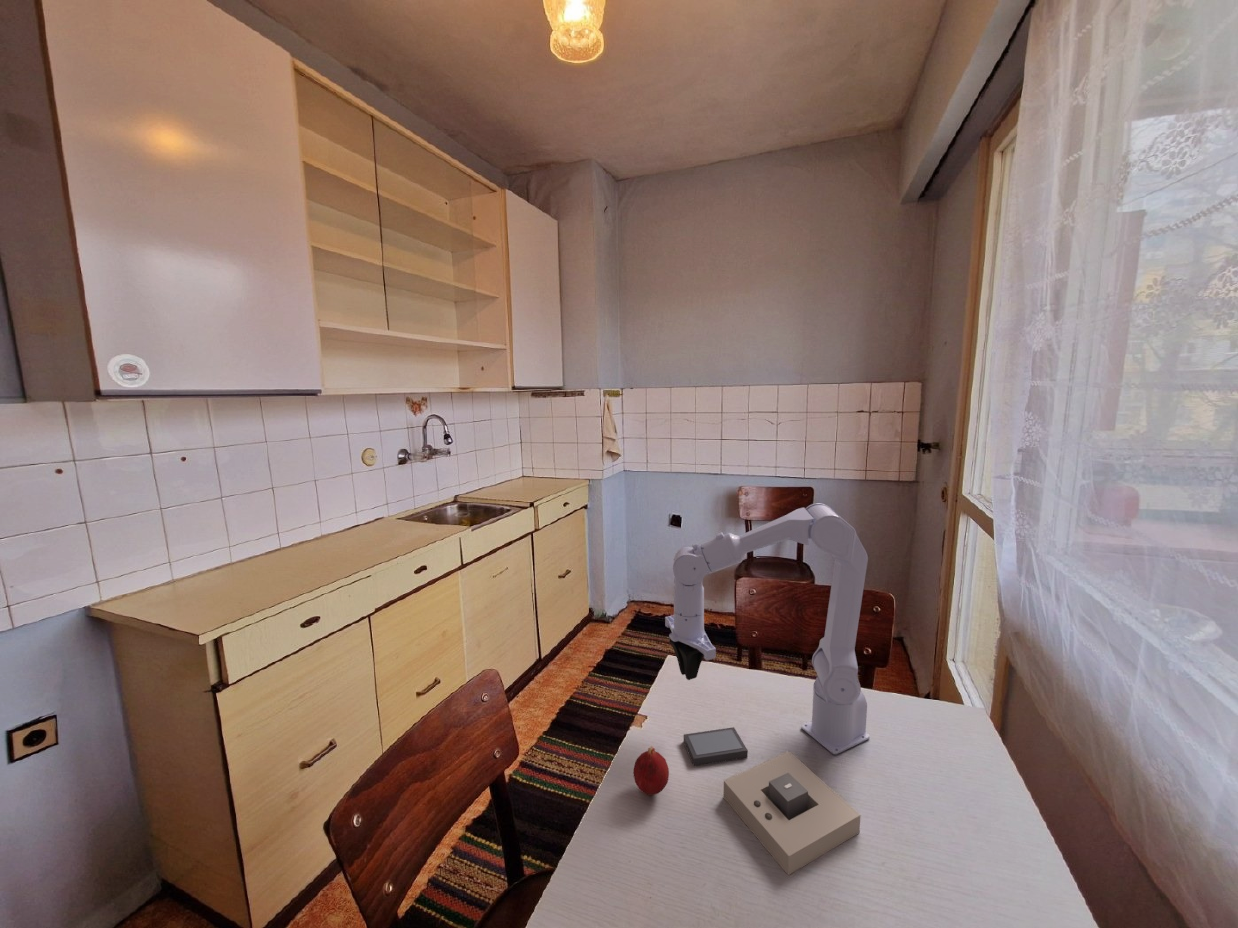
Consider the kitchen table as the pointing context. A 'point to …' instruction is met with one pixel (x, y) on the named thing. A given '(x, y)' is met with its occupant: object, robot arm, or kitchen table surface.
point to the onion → (651, 772)
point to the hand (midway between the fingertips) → (688, 675)
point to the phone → (715, 746)
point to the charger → (788, 796)
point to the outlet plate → (804, 833)
